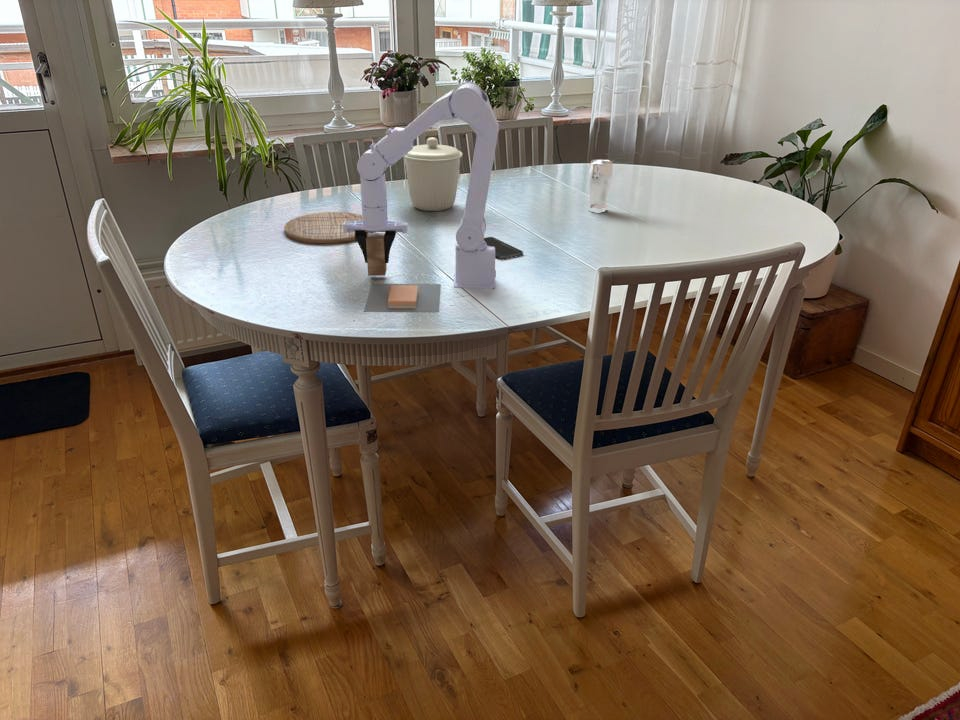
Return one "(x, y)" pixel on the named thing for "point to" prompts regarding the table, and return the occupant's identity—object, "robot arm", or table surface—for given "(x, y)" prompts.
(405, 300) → the flat slab
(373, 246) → the wooden block
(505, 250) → the phone
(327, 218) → the trivet
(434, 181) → the canister
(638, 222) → the table surface
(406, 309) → the rubber mat
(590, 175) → the beer glass
